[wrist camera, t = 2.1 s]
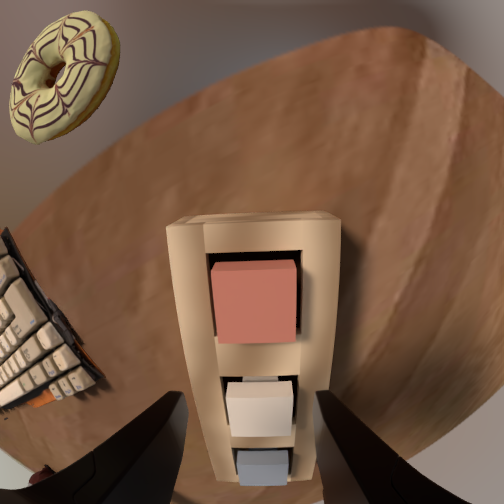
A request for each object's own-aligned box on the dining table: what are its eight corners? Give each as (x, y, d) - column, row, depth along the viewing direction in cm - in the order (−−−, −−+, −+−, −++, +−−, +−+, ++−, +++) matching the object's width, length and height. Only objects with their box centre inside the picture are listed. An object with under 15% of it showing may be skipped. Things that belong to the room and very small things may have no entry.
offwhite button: (289, 362, 19) (293, 396, 15) (287, 402, 20) (290, 435, 16) (231, 364, 19) (225, 397, 15) (235, 403, 20) (231, 436, 16)
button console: (324, 210, 18) (341, 219, 14) (307, 450, 24) (311, 479, 20) (185, 216, 18) (165, 226, 14) (221, 451, 24) (216, 480, 21)
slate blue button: (286, 432, 21) (288, 463, 17) (285, 456, 22) (286, 484, 18) (239, 433, 21) (236, 464, 17) (242, 457, 22) (240, 485, 18)
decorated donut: (18, 90, 16) (-9, 84, 12) (99, 6, 14) (78, -12, 11) (52, 169, 18) (20, 170, 14) (150, 74, 16) (128, 55, 12)
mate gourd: (57, 468, 31) (28, 520, 16) (76, 489, 33) (53, 537, 18) (33, 457, 31) (3, 503, 17) (52, 478, 33) (27, 522, 19)
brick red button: (289, 249, 17) (296, 268, 13) (289, 311, 18) (295, 341, 14) (220, 252, 17) (210, 271, 13) (226, 313, 18) (218, 343, 14)
